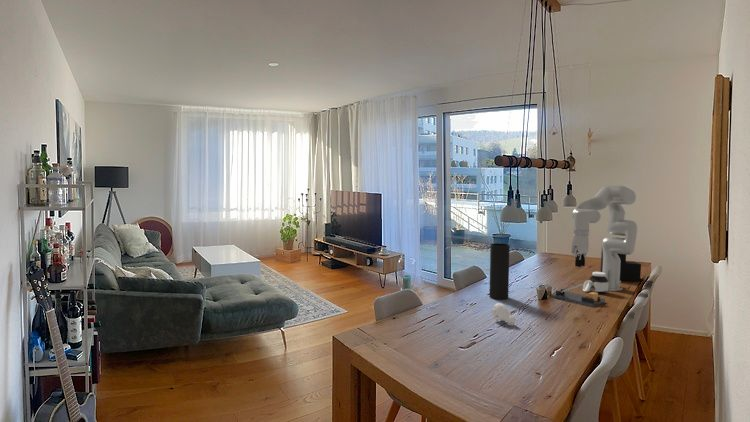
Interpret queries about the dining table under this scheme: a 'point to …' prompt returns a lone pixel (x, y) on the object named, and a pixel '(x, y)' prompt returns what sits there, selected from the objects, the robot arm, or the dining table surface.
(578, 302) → the plate
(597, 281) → the spread jar
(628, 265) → the bookend
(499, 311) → the white rounded lump
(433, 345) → the dining table surface
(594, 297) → the block
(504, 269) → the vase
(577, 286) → the strap
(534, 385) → the dining table surface
